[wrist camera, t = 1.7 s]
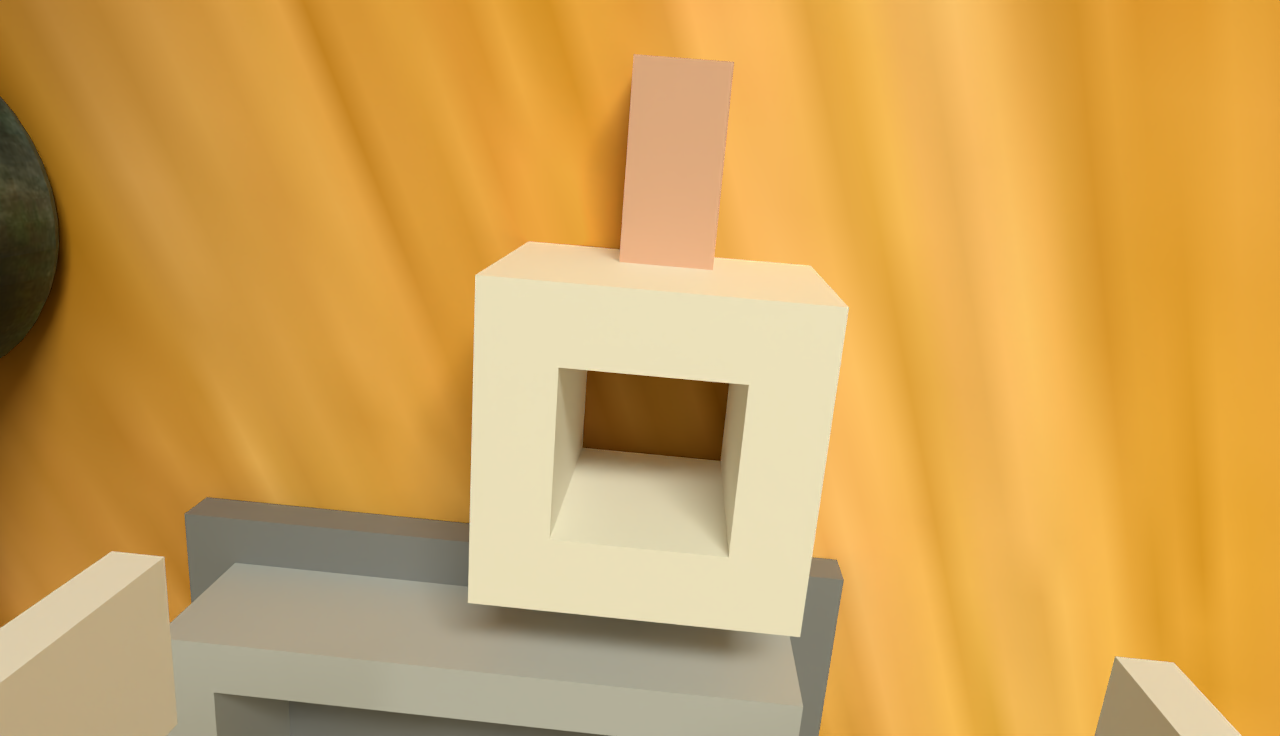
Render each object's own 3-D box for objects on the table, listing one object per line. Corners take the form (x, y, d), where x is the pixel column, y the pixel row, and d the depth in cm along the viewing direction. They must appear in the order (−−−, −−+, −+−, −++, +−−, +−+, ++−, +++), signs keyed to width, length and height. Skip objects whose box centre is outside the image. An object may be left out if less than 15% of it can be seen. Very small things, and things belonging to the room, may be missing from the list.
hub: (775, 524, 26) (800, 637, 20) (518, 498, 26) (468, 603, 20) (835, 77, 22) (886, 57, 16) (536, 55, 22) (481, 26, 17)
